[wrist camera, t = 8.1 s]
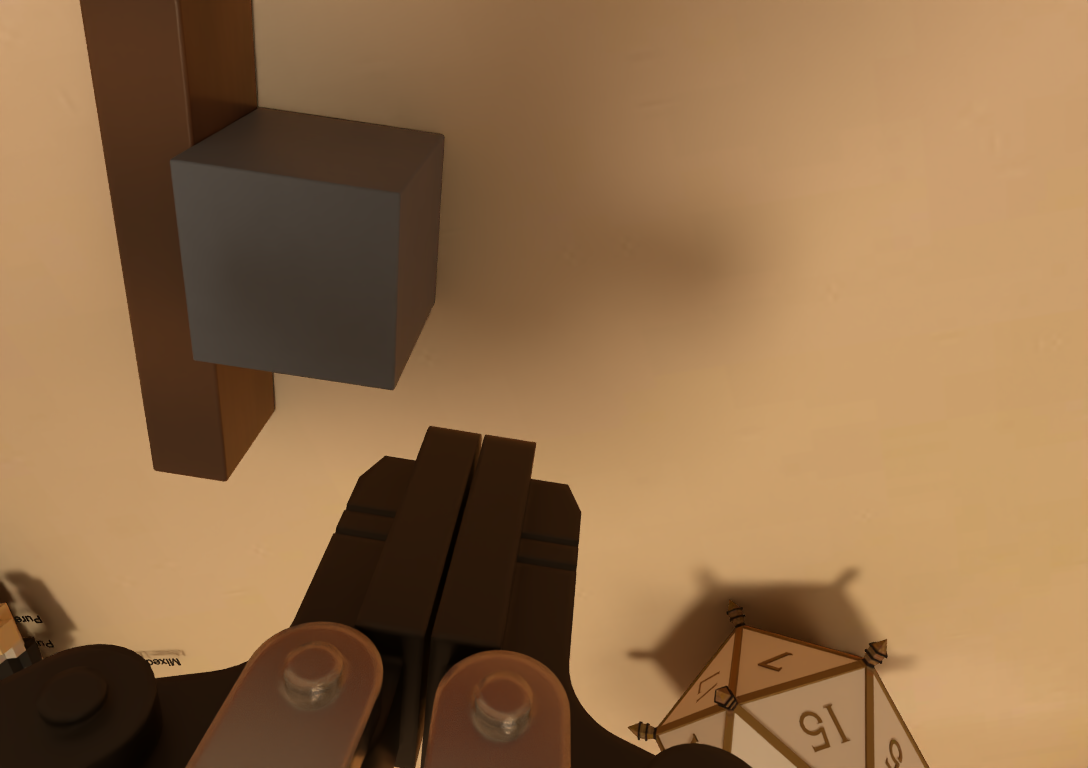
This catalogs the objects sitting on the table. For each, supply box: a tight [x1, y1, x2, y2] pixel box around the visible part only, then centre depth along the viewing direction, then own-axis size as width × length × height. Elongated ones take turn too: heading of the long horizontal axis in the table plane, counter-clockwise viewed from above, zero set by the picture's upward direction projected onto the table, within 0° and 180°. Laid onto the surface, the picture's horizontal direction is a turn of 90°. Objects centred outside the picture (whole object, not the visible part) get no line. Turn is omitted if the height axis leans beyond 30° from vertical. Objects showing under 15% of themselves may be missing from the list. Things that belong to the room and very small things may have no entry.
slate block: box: [170, 108, 444, 390], centre depth 19 cm, size 5×5×5 cm
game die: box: [628, 599, 929, 768], centre depth 25 cm, size 9×8×10 cm
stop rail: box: [80, 0, 274, 481], centre depth 19 cm, size 14×2×4 cm, turn 173°
